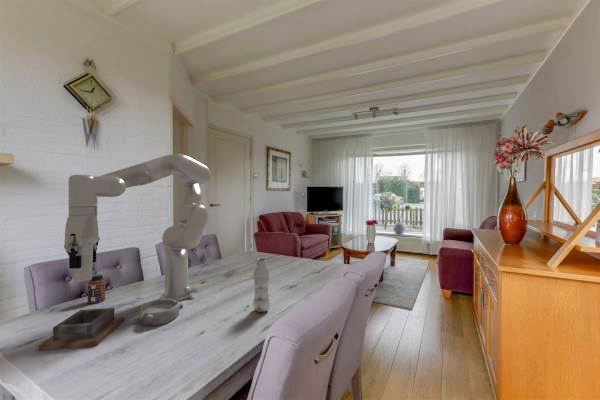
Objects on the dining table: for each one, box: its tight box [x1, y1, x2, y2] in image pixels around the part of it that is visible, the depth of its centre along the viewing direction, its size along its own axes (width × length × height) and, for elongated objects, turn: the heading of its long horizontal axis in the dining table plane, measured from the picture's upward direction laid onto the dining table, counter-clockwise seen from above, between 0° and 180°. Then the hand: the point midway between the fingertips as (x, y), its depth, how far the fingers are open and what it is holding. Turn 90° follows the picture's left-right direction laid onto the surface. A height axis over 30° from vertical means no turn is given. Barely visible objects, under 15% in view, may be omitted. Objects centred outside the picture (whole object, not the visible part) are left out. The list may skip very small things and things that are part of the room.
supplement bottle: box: [87, 273, 106, 304], centre depth 114 cm, size 6×6×11 cm
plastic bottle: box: [252, 258, 271, 313], centre depth 105 cm, size 6×7×20 cm
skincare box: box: [73, 243, 94, 283], centre depth 90 cm, size 6×4×12 cm
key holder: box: [38, 307, 125, 351], centre depth 87 cm, size 15×17×6 cm
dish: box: [138, 298, 184, 326], centre depth 99 cm, size 14×14×5 cm
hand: (83, 264), depth 90 cm, fingers closed on skincare box, 7 cm apart
